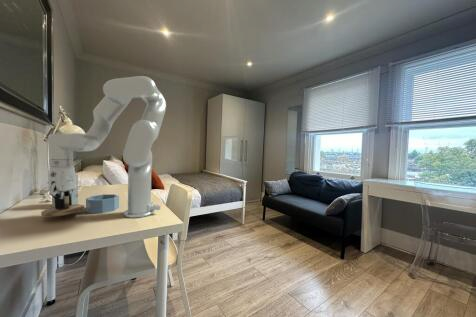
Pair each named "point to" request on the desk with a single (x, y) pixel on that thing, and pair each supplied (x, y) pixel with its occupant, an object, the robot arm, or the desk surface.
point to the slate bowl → (102, 203)
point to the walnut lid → (64, 211)
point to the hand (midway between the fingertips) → (63, 206)
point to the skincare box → (74, 196)
